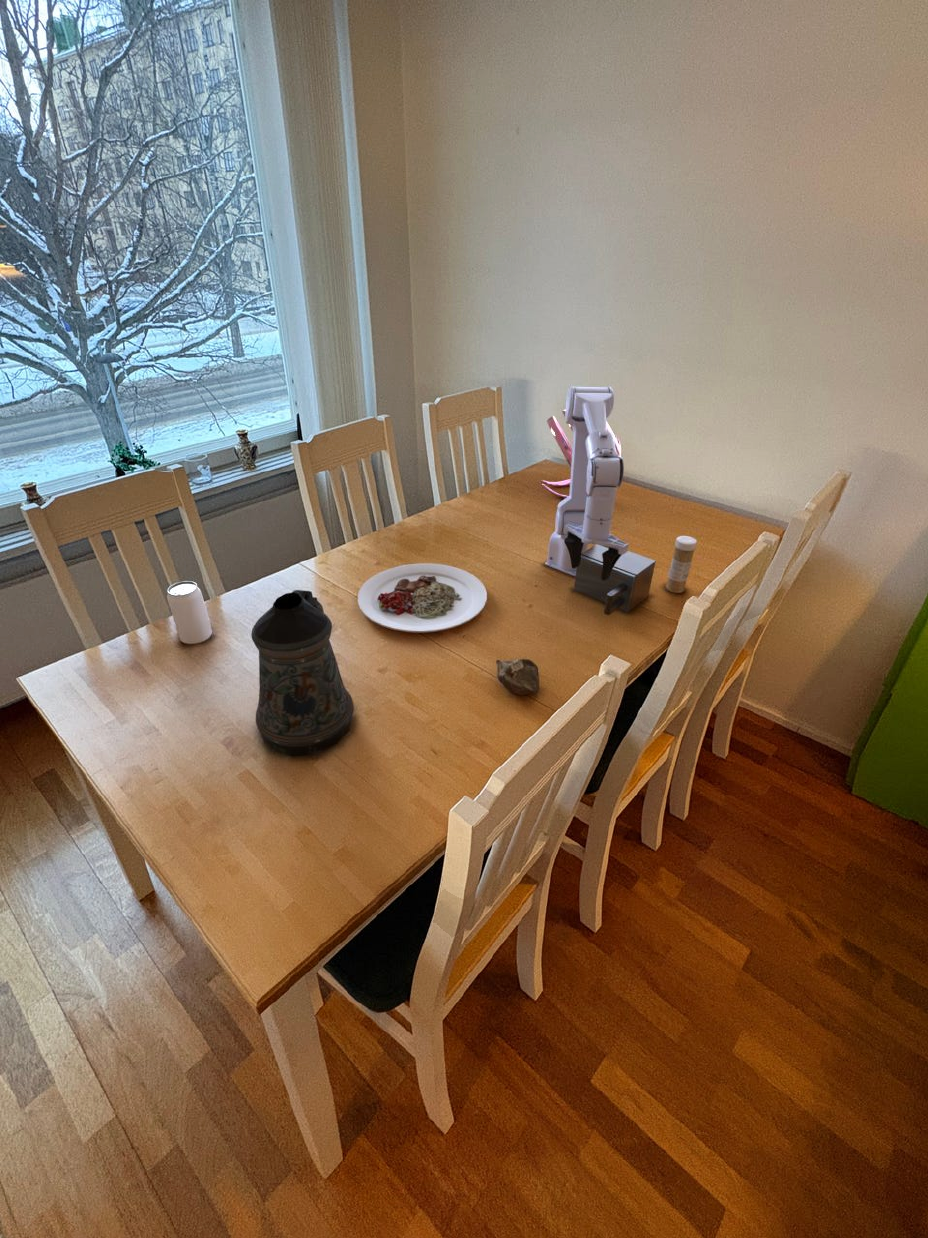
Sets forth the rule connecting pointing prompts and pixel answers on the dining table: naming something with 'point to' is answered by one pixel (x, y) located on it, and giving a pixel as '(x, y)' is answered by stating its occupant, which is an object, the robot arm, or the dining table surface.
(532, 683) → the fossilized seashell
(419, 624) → the plated food
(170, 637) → the dining table surface
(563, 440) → the spiral basket
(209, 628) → the can
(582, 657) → the dining table surface
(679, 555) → the sprinkles bottle
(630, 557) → the cupboard
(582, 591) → the cupboard door
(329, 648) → the beer stein
